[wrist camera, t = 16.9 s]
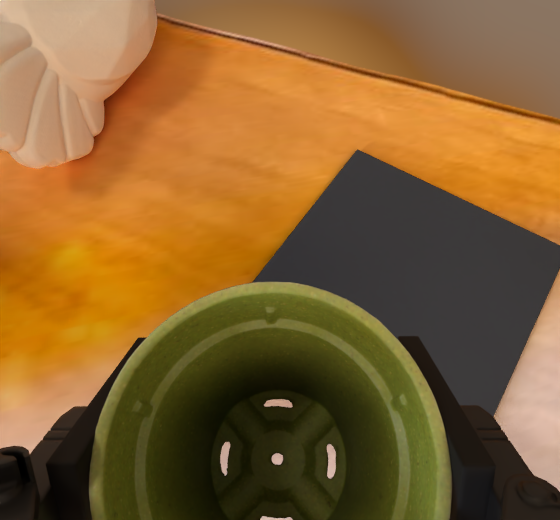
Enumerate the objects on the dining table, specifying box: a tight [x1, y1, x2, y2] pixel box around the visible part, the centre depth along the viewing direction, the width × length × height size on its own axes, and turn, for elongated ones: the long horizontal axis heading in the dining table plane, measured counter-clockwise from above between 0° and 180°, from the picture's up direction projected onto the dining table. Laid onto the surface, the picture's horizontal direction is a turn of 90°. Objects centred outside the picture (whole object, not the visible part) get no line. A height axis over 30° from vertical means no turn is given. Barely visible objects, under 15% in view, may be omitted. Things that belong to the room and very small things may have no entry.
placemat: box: [252, 150, 560, 416], centre depth 34 cm, size 20×20×1 cm
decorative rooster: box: [0, 0, 157, 169], centre depth 37 cm, size 25×16×25 cm
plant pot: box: [89, 282, 452, 520], centre depth 15 cm, size 9×9×9 cm
